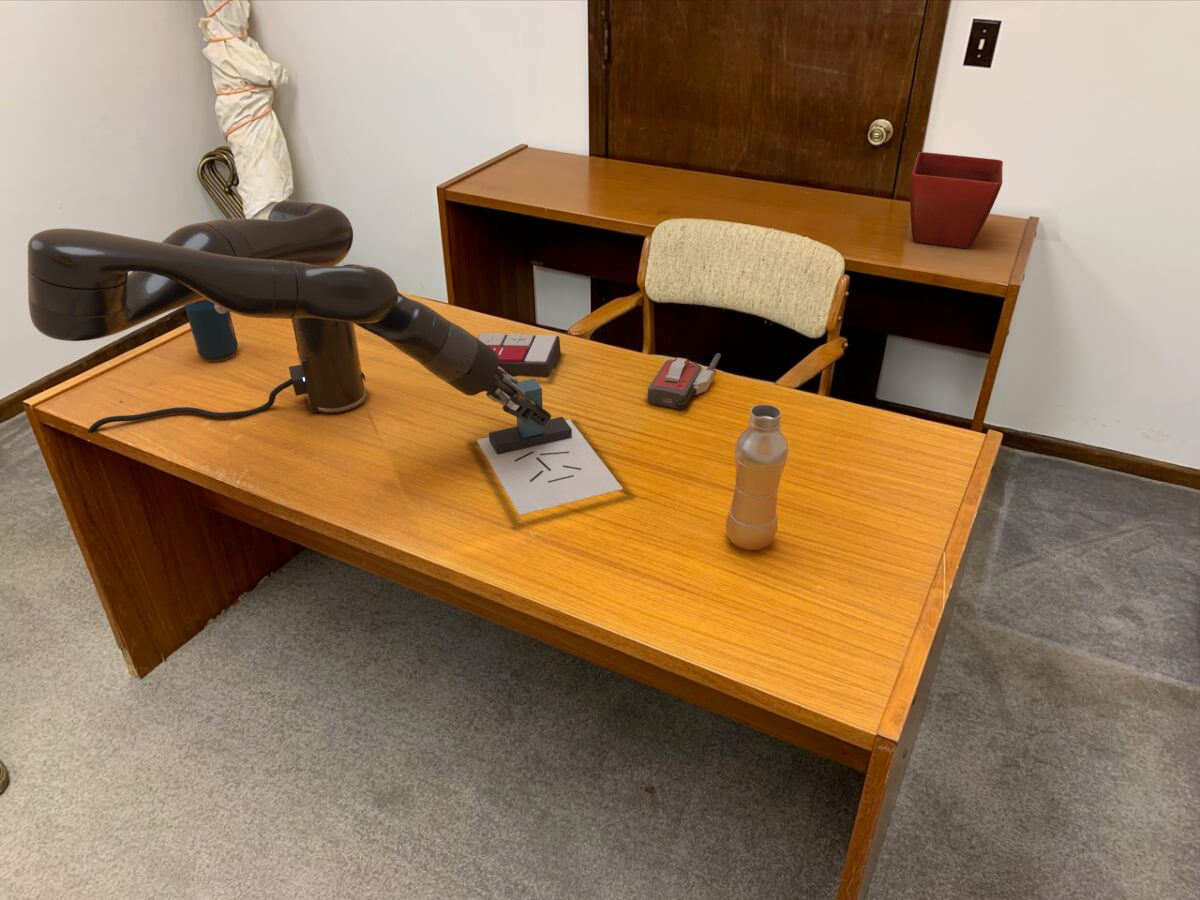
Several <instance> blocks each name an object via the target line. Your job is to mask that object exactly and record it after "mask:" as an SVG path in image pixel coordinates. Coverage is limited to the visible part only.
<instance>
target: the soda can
mask: <svg viewBox="0 0 1200 900" xmlns="http://www.w3.org/2000/svg"><path fill="white" fill-rule="evenodd" d="M184 308H185V312H186V316H187V319H188V324H189V326H190V330H191V334H192V338H193V341H194V345H195V348H196V352H197V354H198V355H199V356H200V357H201V358H203V359H204V360H205V361H207V362H223V361H226V360H229V359H231V358H233V357H234V356H235V354H236V353H237V351H238V348H239V343H238V339H237V336H236V332H235V327H234V323H233V319H232V316H231V312H230V311H227V310H225V309H223V308H221V307H219V306H218V305H216V304H214V303H213V302H211V301H209V300H208V299H205V300H201V301H197V302H194V303H191V304H188V305H185V306H184Z"/></svg>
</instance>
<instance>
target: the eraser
mask: <svg viewBox="0 0 1200 900" xmlns="http://www.w3.org/2000/svg"><path fill="white" fill-rule="evenodd" d="M515 384H516V385H517V386H518V387H520V388H521V389H522V390H523V391H524V393H525V396H526V397H528V398H529V399H530V400H533V401H534V402H535V404H537V405H538V406H540V407H541V408H543V387H541V385H540V384H539V382H538V381H537V380H536V378H532V379H526V380H522V381H518V382H517V383H515ZM516 394H517V392H516V393H515V395H516ZM543 409H544V408H543ZM565 420H566V419H565V418H564V417H563V416H559V417H554V418H550V420H549V421H548V422H547V423H546V424H545V425H544V426H541V425H539V424H538V423H536V422H535V421H533V420H532V419H530V418H528V420H527V421H525V420H522V419H520V418H518V417H516V426H513V427H508V428H504V429H499V430H495V431H491V432H488V437H489V442H490V443H491V445H492V446H493V448H494V450H495V451H496V453H497V455H498V454H503V453H507V452H511V451H516V450H520V449H524V448H529V447H533V446H537V445H542V444H546V443H550V442H555V441H559V440H564V439H568V438H572V429H571V427H570V426H569V425H568V423H567V422H566V421H565Z"/></svg>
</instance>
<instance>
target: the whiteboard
mask: <svg viewBox="0 0 1200 900" xmlns="http://www.w3.org/2000/svg"><path fill="white" fill-rule="evenodd" d="M564 420H565V421H566V422H567V423H568V425H569V426H570V427H571V429H572V438H568V439H564V440H559V441H555V442H550V443H546V444H542V445H537V446H533V447H529V448H524V449H520V450H516V451H511V452H507V453H503V454H498V455H497V453H496V451H495V450H494V448H493V446H492V445H491V443H490V442H489V436H487V437H483V438H478V439H476V443H477V444H478V446H479V447H480V449H481V451H482V453H483V454H484V456H485V458H486V460H487V462H488V463H489V465H490V466H491V468H492V470H493V472H494V474H495V475H496V477H497V479H498V481H499V482H500V484H501V486H502V487H503V489H504V491H505V492H506V494H507V496H508V498H509V500H510V501H511V503H512V504H513V507H514V508H515V510H516V512H517V513H518V516H523V515H528V514H531V513H534V512H538V511H543V510H546V509H551V508H555V507H558V506H562V505H565V504H566V505H567V504H570V503H574V502H578V501H581V500H586V499H590V498H594V497H597V496H600V495H605V494H610V493H613V492H618V491H621V490H623V489H624V487H622V485H621V484H620V482H618V480H617V479H616V478H615V476H614V475H613V474H612V472H611V471H610V469H609V468H608V467H607V466H606V464H605V463H604V462H603V461H602V459H601V458H600V457H599V455H598V454H597V453H596V451H595V450H594V448H593V447H592V446H591V445H590V444H589V442H588V441H587V440H586V438H585V437H584V436H583V435H582V433H581V431H579V429H578V428H577V427H576V425H575V424H574V423H573V421H572V420H571V419H569V418H568V419H564Z"/></svg>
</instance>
